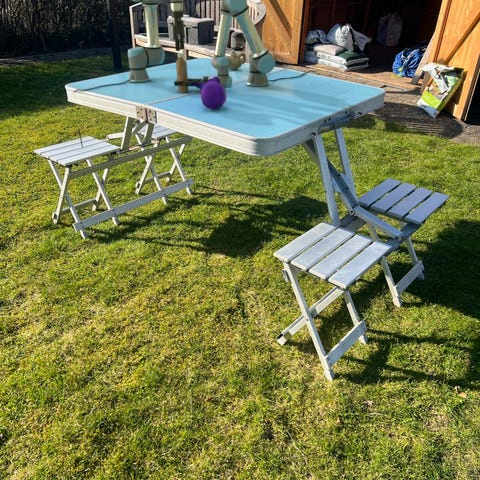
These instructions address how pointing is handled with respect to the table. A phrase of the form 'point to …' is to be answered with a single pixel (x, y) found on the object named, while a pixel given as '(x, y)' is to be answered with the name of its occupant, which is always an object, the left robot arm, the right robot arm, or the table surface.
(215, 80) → the toy
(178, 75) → the bottle
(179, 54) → the cap
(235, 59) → the beige rounded piece
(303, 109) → the table surface
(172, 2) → the left robot arm
